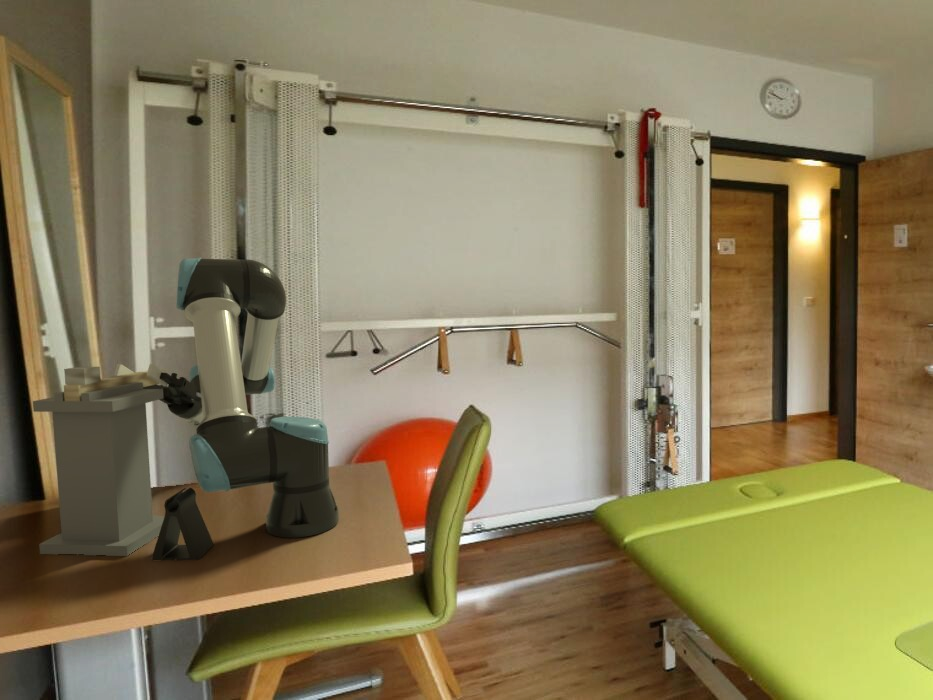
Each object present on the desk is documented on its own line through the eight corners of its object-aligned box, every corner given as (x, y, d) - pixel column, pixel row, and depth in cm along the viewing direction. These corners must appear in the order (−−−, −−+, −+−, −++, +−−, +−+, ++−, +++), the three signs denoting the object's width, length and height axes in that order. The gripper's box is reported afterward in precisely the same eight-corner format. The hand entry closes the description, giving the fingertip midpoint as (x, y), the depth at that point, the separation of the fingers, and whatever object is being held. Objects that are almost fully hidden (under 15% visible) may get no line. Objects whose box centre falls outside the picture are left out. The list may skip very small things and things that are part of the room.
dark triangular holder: (214, 546, 109) (210, 487, 108) (199, 560, 103) (195, 497, 102) (168, 546, 109) (165, 487, 108) (151, 560, 103) (147, 498, 102)
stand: (98, 523, 121) (88, 382, 119) (175, 525, 120) (167, 382, 117) (40, 554, 106) (27, 393, 104) (127, 556, 105) (116, 393, 102)
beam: (152, 382, 129) (150, 356, 129) (168, 382, 129) (167, 356, 128) (62, 401, 103) (59, 369, 103) (82, 401, 103) (79, 369, 103)
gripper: (223, 419, 138) (171, 385, 118) (149, 418, 140) (85, 385, 119) (229, 391, 141) (180, 353, 121) (157, 391, 143) (96, 354, 122)
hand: (133, 369), depth 120 cm, fingers open, 7 cm apart
